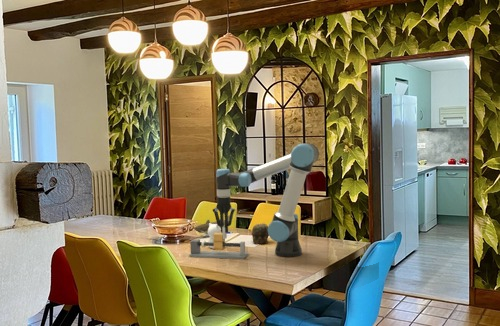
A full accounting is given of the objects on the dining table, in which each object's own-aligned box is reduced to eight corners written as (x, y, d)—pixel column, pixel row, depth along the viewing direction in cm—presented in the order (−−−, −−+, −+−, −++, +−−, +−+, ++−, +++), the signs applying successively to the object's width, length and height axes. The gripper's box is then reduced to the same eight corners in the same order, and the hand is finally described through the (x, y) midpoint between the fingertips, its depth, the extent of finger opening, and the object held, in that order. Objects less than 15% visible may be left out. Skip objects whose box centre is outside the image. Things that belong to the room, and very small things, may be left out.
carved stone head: (273, 242, 314) (272, 223, 313) (261, 245, 306) (260, 226, 305) (260, 240, 321) (259, 221, 321) (248, 243, 313) (247, 224, 313)
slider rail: (248, 254, 285) (248, 239, 284) (244, 259, 275) (243, 243, 275) (195, 252, 293) (195, 238, 292) (189, 256, 283) (188, 242, 283)
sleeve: (225, 247, 285) (224, 232, 285) (222, 249, 281) (221, 234, 280) (216, 247, 287) (216, 232, 286) (213, 249, 282) (213, 234, 281)
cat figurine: (204, 248, 303) (203, 224, 302) (217, 244, 313) (216, 220, 312) (216, 250, 298) (215, 225, 297) (229, 245, 308) (227, 221, 307)
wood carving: (235, 230, 354) (235, 215, 353) (199, 239, 327) (199, 222, 327) (226, 229, 360) (226, 214, 359) (190, 238, 333) (189, 221, 333)
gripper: (236, 195, 283) (237, 237, 284) (214, 195, 286) (215, 236, 288) (232, 197, 276) (233, 240, 277) (210, 197, 279) (211, 239, 280)
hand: (224, 238), depth 282 cm, fingers closed
